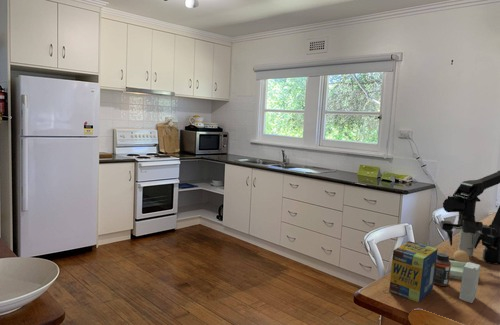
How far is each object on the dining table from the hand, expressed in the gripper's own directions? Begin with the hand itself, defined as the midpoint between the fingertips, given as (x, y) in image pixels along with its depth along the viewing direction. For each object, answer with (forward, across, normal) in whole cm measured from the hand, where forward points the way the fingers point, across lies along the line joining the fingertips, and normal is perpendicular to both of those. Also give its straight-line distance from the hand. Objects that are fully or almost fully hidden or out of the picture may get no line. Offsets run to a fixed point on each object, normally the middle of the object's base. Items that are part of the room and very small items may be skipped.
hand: (462, 246), depth 163 cm
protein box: (+8, -24, -36) cm, 44 cm away
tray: (+8, -4, -12) cm, 15 cm away
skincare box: (+8, -6, -35) cm, 36 cm away
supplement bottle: (+8, -13, -25) cm, 29 cm away
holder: (+8, 0, 0) cm, 8 cm away
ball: (+5, 0, 0) cm, 5 cm away
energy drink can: (+8, +5, +13) cm, 16 cm away
